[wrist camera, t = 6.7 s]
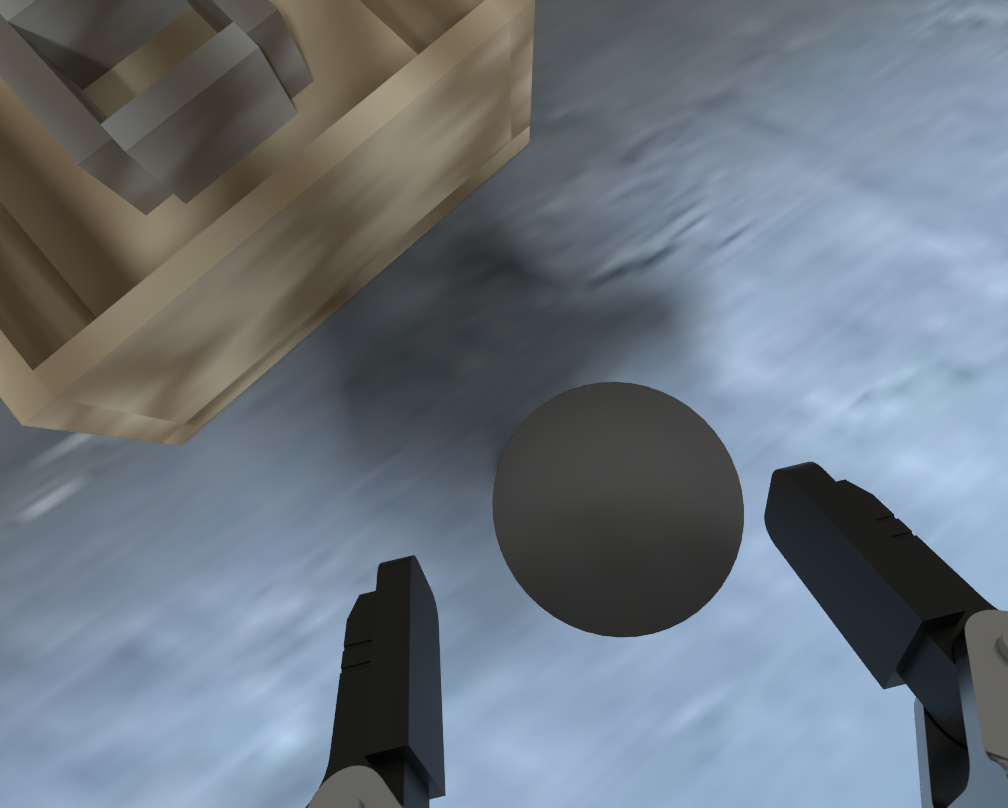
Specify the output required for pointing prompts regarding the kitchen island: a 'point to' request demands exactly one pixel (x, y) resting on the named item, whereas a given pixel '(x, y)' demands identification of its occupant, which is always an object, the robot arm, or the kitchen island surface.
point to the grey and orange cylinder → (618, 509)
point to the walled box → (224, 184)
